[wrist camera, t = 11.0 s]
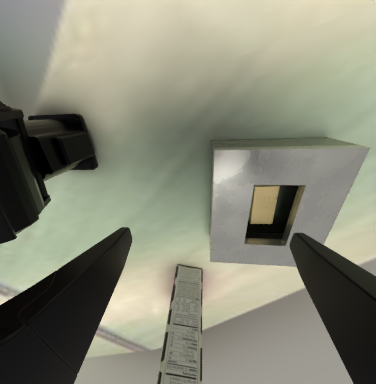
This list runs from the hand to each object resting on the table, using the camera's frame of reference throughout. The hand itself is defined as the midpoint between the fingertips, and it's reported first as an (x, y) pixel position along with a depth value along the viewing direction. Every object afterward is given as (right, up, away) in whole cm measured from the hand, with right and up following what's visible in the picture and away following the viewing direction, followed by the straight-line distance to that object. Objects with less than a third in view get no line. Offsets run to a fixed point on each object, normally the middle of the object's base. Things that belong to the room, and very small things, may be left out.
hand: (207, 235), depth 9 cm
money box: (+8, +2, +12) cm, 14 cm away
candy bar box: (-1, -15, +22) cm, 27 cm away
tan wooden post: (+8, +2, +12) cm, 15 cm away
